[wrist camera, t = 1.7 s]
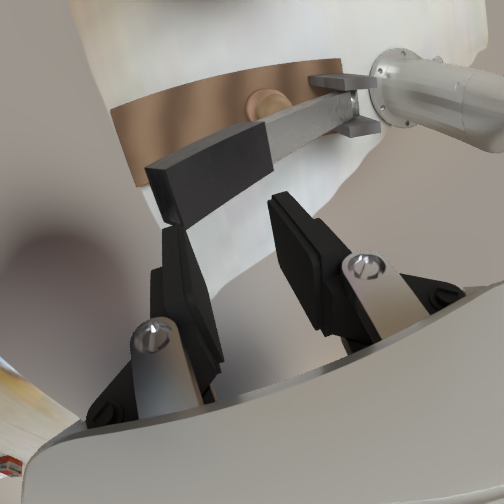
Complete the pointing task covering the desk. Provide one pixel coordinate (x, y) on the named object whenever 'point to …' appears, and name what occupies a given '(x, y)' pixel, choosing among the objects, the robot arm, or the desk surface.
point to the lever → (240, 156)
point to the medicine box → (10, 466)
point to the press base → (229, 107)
